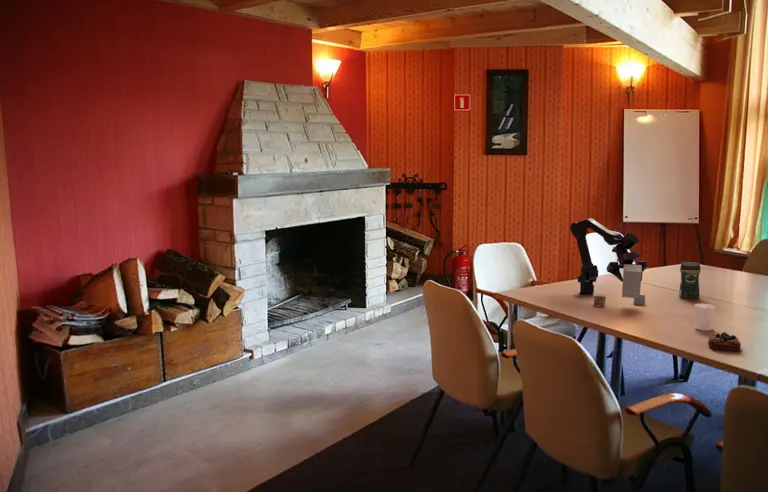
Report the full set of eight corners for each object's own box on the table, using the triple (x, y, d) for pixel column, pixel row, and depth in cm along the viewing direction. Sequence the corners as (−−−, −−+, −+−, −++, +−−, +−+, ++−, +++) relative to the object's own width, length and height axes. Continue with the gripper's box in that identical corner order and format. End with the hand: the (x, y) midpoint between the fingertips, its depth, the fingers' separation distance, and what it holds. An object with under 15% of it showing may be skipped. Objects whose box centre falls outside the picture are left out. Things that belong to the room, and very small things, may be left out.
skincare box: (639, 292, 308) (642, 264, 301) (639, 300, 302) (642, 271, 295) (621, 290, 311) (624, 262, 304) (620, 297, 305) (623, 270, 298)
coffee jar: (698, 296, 327) (700, 261, 324) (700, 299, 320) (702, 263, 317) (677, 295, 330) (679, 260, 327) (679, 298, 323) (681, 263, 320)
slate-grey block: (633, 304, 313) (634, 294, 312) (634, 301, 318) (634, 292, 317) (644, 305, 311) (644, 295, 310) (644, 302, 316) (645, 293, 315)
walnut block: (593, 305, 311) (594, 295, 311) (594, 303, 316) (595, 293, 315) (604, 306, 309) (604, 296, 309) (605, 304, 314) (605, 294, 313)
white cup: (689, 326, 272) (690, 303, 270) (706, 325, 272) (708, 303, 271) (700, 331, 264) (701, 308, 263) (717, 330, 265) (719, 307, 263)
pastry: (709, 351, 239) (710, 336, 238) (706, 342, 250) (707, 328, 249) (742, 354, 235) (743, 339, 234) (738, 345, 246) (739, 330, 245)
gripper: (609, 245, 306) (618, 272, 297) (647, 244, 307) (656, 271, 298) (602, 258, 315) (611, 285, 306) (638, 257, 316) (648, 284, 307)
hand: (631, 281), depth 304 cm, fingers closed on skincare box, 9 cm apart
